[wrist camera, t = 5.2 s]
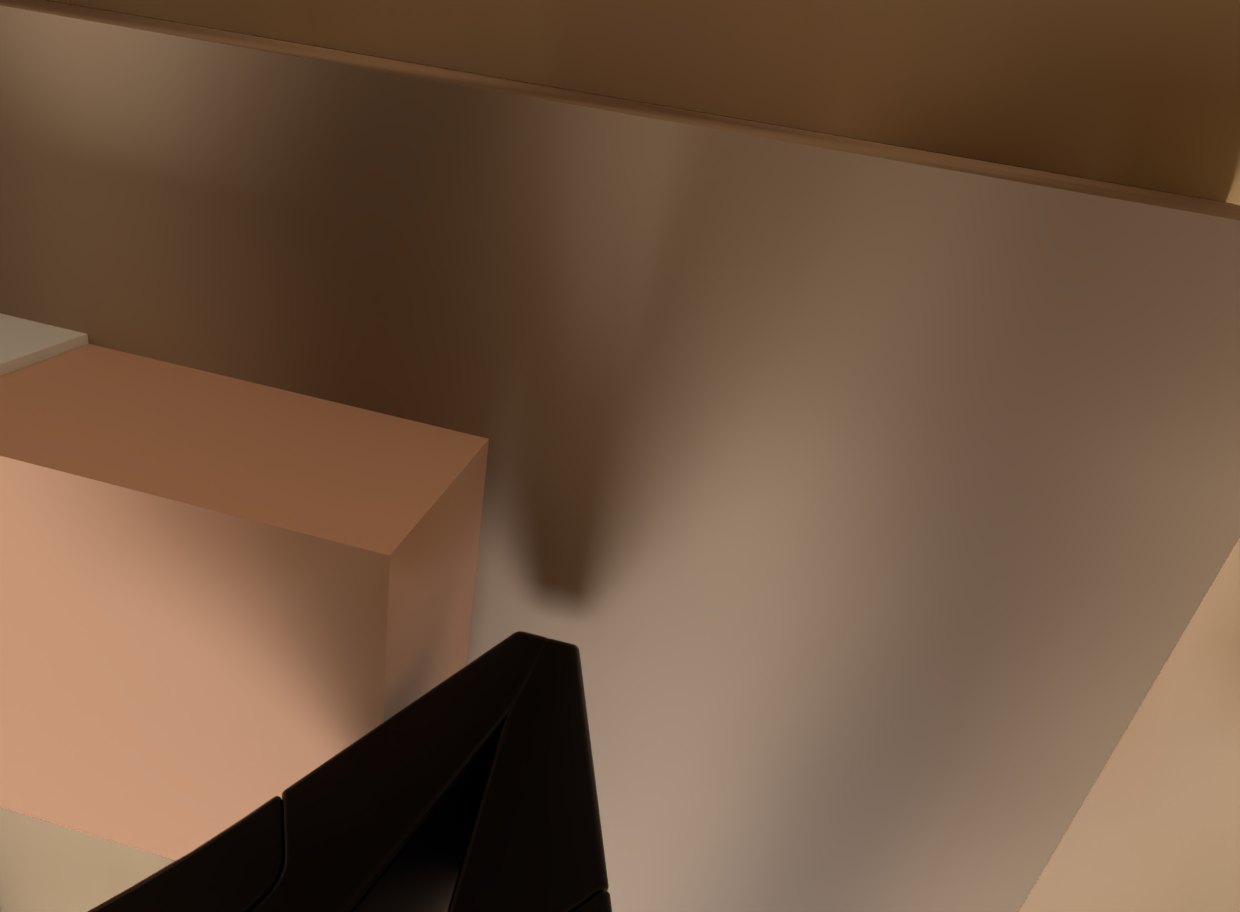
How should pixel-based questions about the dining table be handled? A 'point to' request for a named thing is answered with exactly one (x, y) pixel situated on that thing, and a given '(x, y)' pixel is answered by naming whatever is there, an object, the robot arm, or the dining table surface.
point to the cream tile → (33, 342)
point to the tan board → (697, 419)
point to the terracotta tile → (212, 588)
